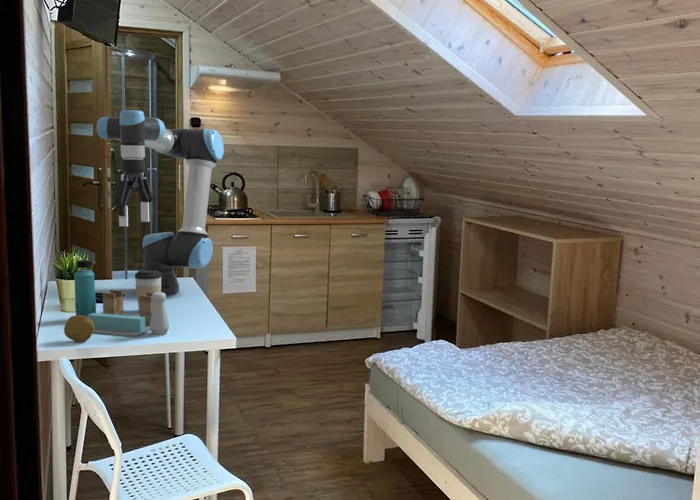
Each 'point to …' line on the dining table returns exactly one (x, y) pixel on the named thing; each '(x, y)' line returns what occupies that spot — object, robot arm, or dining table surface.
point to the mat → (121, 332)
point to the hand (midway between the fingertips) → (134, 223)
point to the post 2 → (146, 307)
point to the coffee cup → (147, 282)
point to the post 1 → (113, 302)
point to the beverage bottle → (84, 290)
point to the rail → (118, 322)
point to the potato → (79, 328)
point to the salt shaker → (159, 315)
